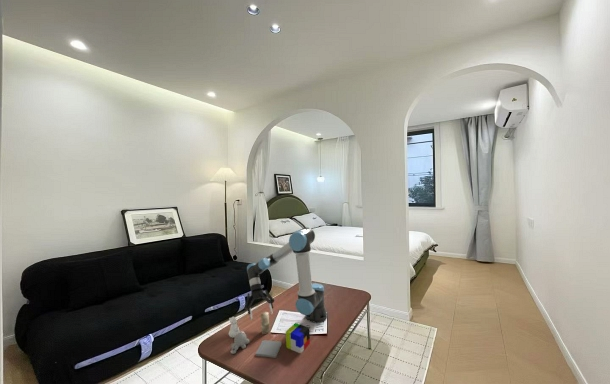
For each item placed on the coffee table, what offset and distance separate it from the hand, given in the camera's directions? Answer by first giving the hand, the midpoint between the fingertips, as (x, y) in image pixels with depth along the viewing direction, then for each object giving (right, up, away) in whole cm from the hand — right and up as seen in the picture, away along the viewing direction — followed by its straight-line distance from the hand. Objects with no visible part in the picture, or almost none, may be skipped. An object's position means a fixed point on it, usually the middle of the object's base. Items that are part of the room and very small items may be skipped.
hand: (262, 316), depth 170 cm
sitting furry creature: (-16, -10, -5) cm, 20 cm away
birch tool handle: (+3, -9, -2) cm, 9 cm away
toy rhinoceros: (-11, -11, -18) cm, 24 cm away
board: (+7, -10, -20) cm, 23 cm away
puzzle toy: (+24, -9, -17) cm, 31 cm away
